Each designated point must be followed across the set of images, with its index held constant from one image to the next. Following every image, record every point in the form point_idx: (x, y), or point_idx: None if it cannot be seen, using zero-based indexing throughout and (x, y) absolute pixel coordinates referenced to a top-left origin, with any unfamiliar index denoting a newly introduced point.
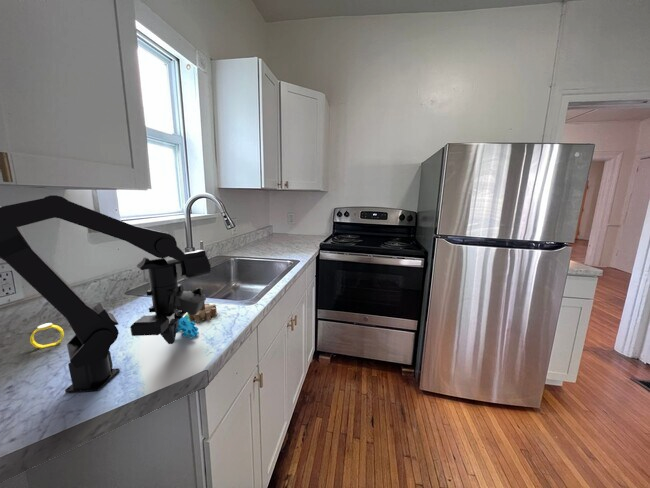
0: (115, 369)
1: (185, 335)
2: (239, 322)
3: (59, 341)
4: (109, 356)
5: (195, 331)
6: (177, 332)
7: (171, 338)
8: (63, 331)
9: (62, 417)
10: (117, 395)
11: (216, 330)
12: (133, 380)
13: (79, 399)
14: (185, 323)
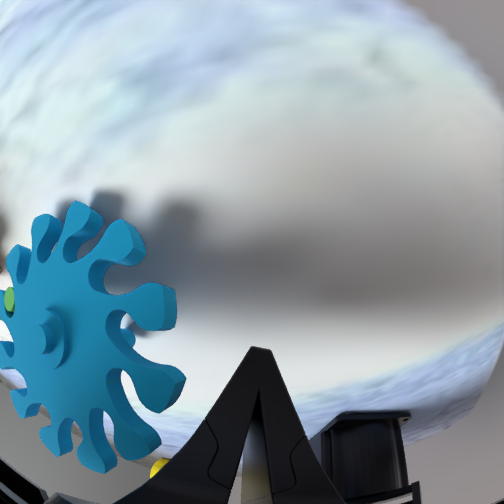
0: (338, 424)
1: (171, 298)
2: (14, 2)
3: (165, 463)
4: (338, 469)
5: (72, 227)
6: (181, 372)
7: (286, 395)
8: (151, 472)
9: (448, 412)
10: (460, 374)
11: (47, 91)
12: (423, 372)
13: (413, 420)
14: (50, 326)
